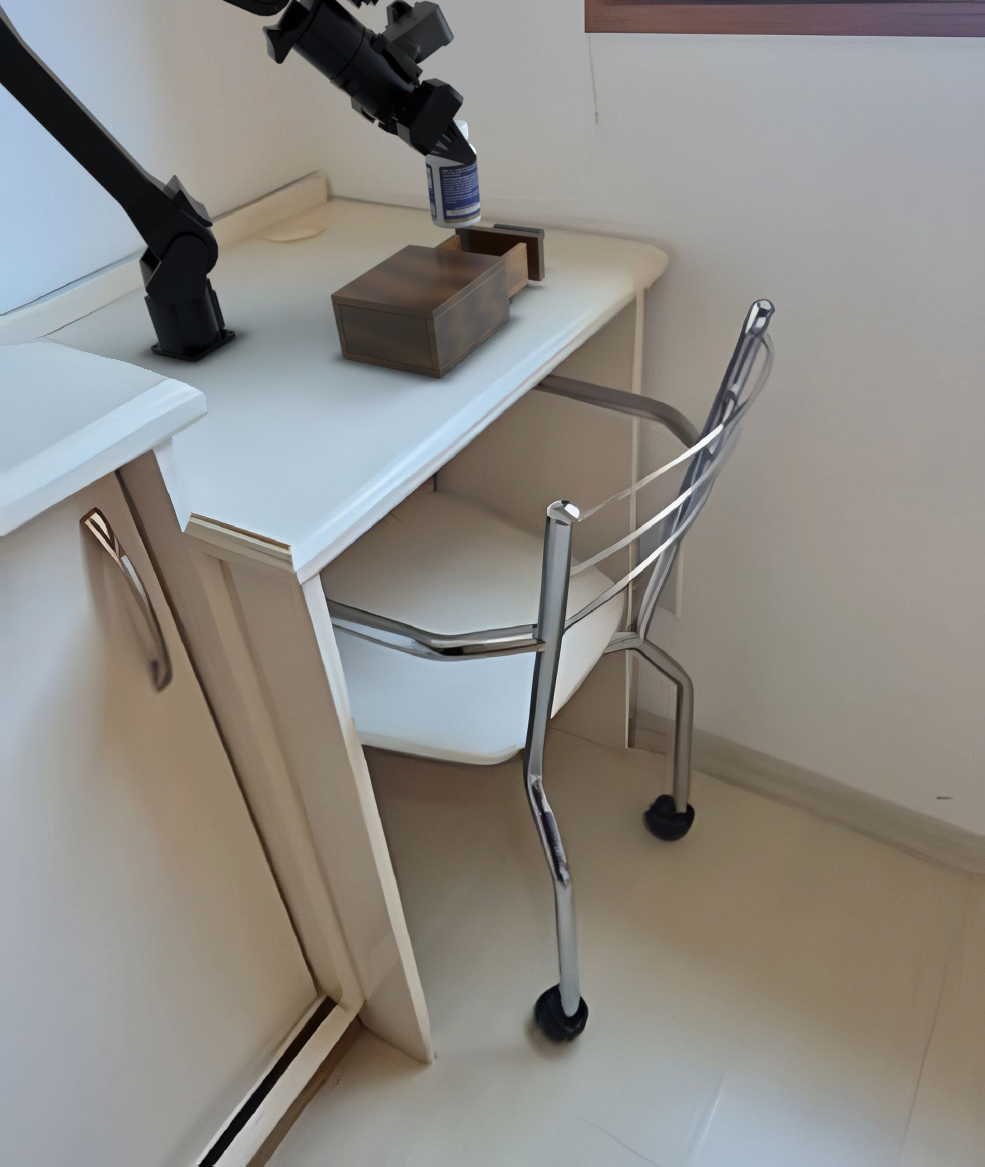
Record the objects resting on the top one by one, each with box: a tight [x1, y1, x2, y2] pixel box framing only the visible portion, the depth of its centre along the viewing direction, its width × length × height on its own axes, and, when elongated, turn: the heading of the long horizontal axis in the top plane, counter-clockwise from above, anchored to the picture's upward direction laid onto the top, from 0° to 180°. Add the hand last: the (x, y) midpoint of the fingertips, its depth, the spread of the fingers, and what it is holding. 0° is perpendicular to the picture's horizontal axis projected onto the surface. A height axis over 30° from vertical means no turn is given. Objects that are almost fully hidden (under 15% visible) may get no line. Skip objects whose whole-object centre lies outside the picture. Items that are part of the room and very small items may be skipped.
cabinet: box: [330, 244, 511, 379], centre depth 92 cm, size 14×12×7 cm
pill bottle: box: [424, 119, 482, 230], centre depth 98 cm, size 5×5×10 cm
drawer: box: [433, 223, 546, 300], centre depth 100 cm, size 17×10×5 cm, turn 150°
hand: (463, 155), depth 97 cm, fingers closed on pill bottle, 5 cm apart
